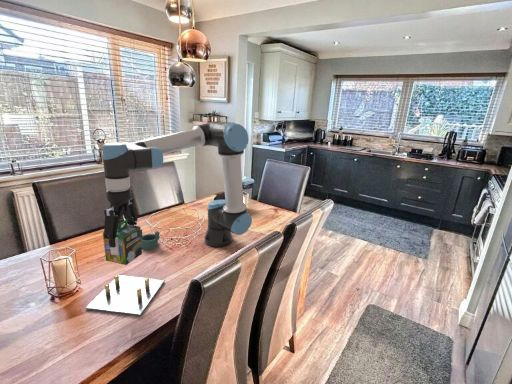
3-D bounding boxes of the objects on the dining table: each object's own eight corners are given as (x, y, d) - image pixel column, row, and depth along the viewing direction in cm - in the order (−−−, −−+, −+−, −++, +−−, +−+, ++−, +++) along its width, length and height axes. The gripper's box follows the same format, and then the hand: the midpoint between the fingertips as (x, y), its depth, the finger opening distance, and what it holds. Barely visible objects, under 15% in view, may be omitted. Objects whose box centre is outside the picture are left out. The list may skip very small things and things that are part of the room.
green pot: (160, 248, 142) (159, 232, 140) (141, 251, 138) (140, 235, 135) (156, 241, 150) (156, 225, 147) (138, 244, 145) (137, 228, 143)
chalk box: (122, 249, 108) (119, 214, 104) (143, 253, 106) (140, 217, 102) (104, 261, 100) (100, 223, 96) (126, 266, 98) (122, 227, 93)
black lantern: (218, 187, 211) (245, 187, 198) (222, 205, 216) (249, 207, 203) (205, 194, 199) (233, 194, 186) (210, 213, 204) (238, 215, 191)
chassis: (164, 282, 115) (163, 270, 114) (140, 316, 96) (139, 303, 95) (118, 277, 117) (117, 265, 116) (86, 309, 98) (84, 296, 97)
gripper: (126, 180, 106) (130, 233, 113) (85, 197, 85) (93, 262, 91) (145, 181, 105) (148, 235, 112) (108, 199, 84) (115, 264, 91)
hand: (123, 247), depth 102 cm, fingers closed on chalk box, 10 cm apart
